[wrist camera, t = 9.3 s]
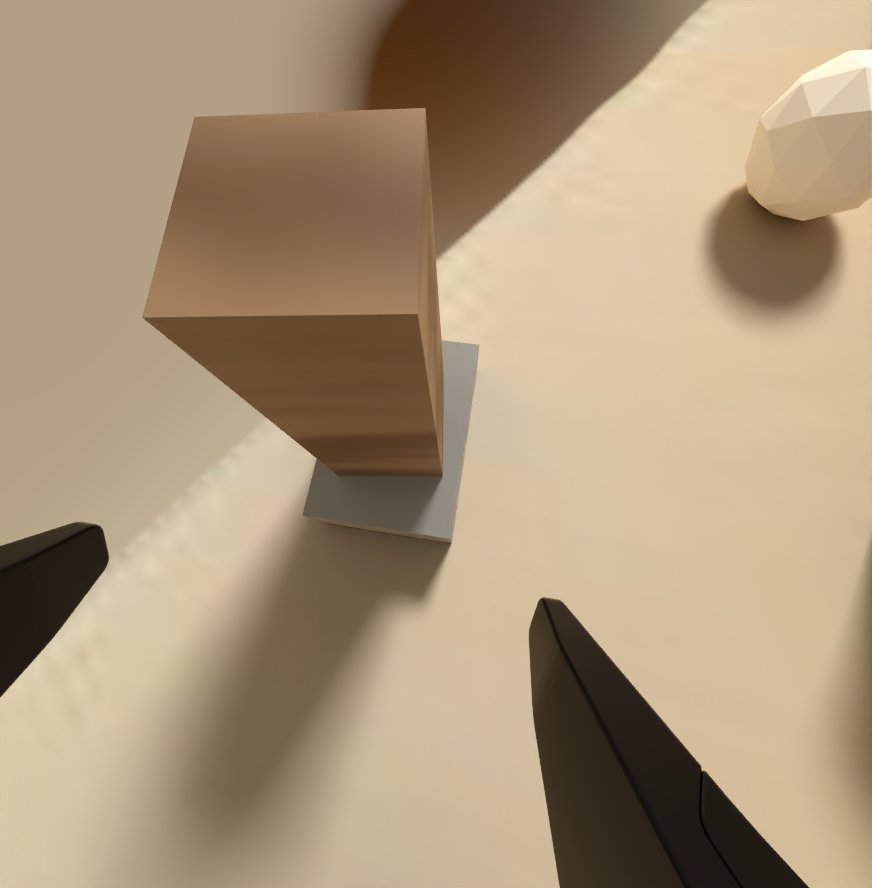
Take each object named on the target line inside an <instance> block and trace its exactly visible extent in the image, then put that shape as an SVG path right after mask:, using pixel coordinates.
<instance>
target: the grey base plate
mask: <svg viewBox="0 0 872 888" xmlns="http://www.w3.org/2000/svg"><path fill="white" fill-rule="evenodd" d="M441 343H442V357H443V372H444V421H443V477H428V476H338V475H337V474H336V473H334V472H333V471H332V470H331V469H330V468H328V467H327V466H326V465H325V464H323V463H322V462H321V461H320V460H318V459H317V460H316V464H315V468H314V472H313V476H312V480H311V484H310V488H309V492H308V496H307V500H306V504H305V508H304V512H303V515H304V516H306V517H309V518H312V519H315V520H317V521H320V522H323V523H329V524H335V525H342V526H348V527H354V528H360V529H366V530H373V531H379V532H385V533H391V534H397V535H403V536H410V537H416V538H422V539H428V540H434V541H441V542H447V543H452V536H453V529H454V523H455V516H456V509H457V502H458V495H459V488H460V482H461V475H462V468H463V461H464V454H465V447H466V440H467V434H468V427H469V420H470V413H471V406H472V399H473V393H474V386H475V379H476V372H477V362H478V352H479V345H476V344H467V343H459V342H450V341H441Z"/></svg>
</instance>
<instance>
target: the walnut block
mask: <svg viewBox="0 0 872 888" xmlns="http://www.w3.org/2000/svg"><path fill="white" fill-rule="evenodd" d="M143 318H144V319H145V320H146V321H147V322H149V323H150V324H151V325H152V326H154V327H155V328H156V329H157V330H159V331H160V332H161V333H162V334H164V335H165V336H166V337H167V338H168V339H170V340H171V341H172V342H173V343H175V344H176V345H177V346H179V347H180V348H181V349H182V350H184V351H185V352H186V353H187V354H189V355H190V356H191V357H192V358H193V359H194V360H196V361H197V362H198V363H199V364H201V365H202V366H203V367H205V368H206V369H207V370H208V371H209V372H211V373H212V374H213V375H214V376H216V377H217V378H218V379H219V380H221V381H222V382H223V383H224V384H225V385H227V386H228V387H229V388H230V389H232V390H233V391H234V392H235V393H237V394H238V395H239V396H240V397H242V398H243V399H244V400H245V401H247V402H248V403H249V404H250V405H251V406H253V407H254V408H255V409H257V410H258V411H259V412H260V413H261V414H263V415H264V416H265V417H266V418H268V419H269V420H270V421H271V422H273V423H274V424H275V425H276V426H277V427H279V428H280V429H281V430H282V431H284V432H285V433H286V434H287V435H289V436H290V437H291V438H292V439H294V440H295V441H296V442H297V443H299V444H300V445H301V446H302V447H303V448H305V449H306V450H307V451H308V452H310V453H311V454H312V455H313V456H315V457H316V458H317V459H318V460H320V461H321V462H322V463H323V464H325V465H326V466H327V467H328V468H330V469H331V470H332V471H333V472H334V473H336V474H337V475H338V476H428V477H443V421H444V372H443V357H442V343H441V328H440V314H439V299H438V285H437V270H436V256H435V243H434V227H433V212H432V198H431V185H430V170H429V155H428V141H427V127H426V111H425V108H416V109H392V110H391V109H390V110H366V111H365V110H363V111H339V112H314V113H313V112H312V113H288V114H263V115H262V114H261V115H235V116H212V117H211V116H209V117H195V118H194V122H193V125H192V130H191V133H190V137H189V141H188V145H187V149H186V152H185V156H184V160H183V164H182V168H181V172H180V176H179V179H178V183H177V187H176V191H175V195H174V198H173V202H172V206H171V210H170V214H169V217H168V221H167V225H166V229H165V233H164V237H163V241H162V244H161V248H160V252H159V256H158V260H157V264H156V267H155V271H154V275H153V279H152V283H151V287H150V290H149V294H148V298H147V302H146V306H145V310H144V313H143Z"/></svg>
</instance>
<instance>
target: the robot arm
mask: <svg viewBox="0 0 872 888" xmlns="http://www.w3.org/2000/svg"><path fill="white" fill-rule="evenodd" d="M108 561H109V555H108V550H107V546H106V541H105V536H104V532H103V529H102V528H101V527H100V526H99V525H96V524H91V523H84V522H75V523H71V524H68V525H65V526H62V527H59V528H56V529H52V530H49V531H46V532H43V533H40V534H37V535H34V536H30V537H27V538H24V539H21V540H18V541H15V542H12V543H9V544H5V545H2V546H0V697H1V696H2V695H3V694H4V693H5V692H6V691H7V689H8V688H9V687H10V686H11V685H12V684H13V683H14V682H15V680H16V679H17V678H18V677H19V676H20V675H21V674H22V673H23V672H24V670H25V669H26V668H27V667H28V666H29V665H30V664H31V663H32V661H33V660H34V659H35V658H36V657H37V656H38V655H39V654H40V652H41V651H42V650H43V649H44V648H45V647H46V646H47V644H48V643H49V642H50V641H51V640H52V639H53V637H54V636H55V635H56V633H57V632H58V631H59V630H60V628H61V627H62V626H63V625H64V623H65V622H66V621H67V619H68V618H69V617H70V615H71V614H72V613H73V611H74V610H75V609H76V607H77V606H78V605H79V603H80V602H81V601H82V599H83V598H84V597H85V595H86V594H87V593H88V591H89V590H90V589H91V587H92V586H93V585H94V583H95V582H96V581H97V579H98V578H99V577H100V575H101V574H102V573H103V571H104V570H105V568H106V566H107V564H108ZM529 650H530V669H531V688H532V706H533V718H534V726H535V733H536V739H537V745H538V752H539V758H540V765H541V771H542V777H543V784H544V790H545V796H546V803H547V809H548V815H549V822H550V828H551V835H552V841H553V847H554V854H555V860H556V866H557V873H558V879H559V886H560V888H809V887H808V886H807V885H806V884H805V883H804V882H803V881H802V879H801V878H800V877H799V876H798V875H797V874H796V873H795V872H794V871H793V870H792V869H791V868H790V866H789V865H788V864H787V863H786V862H785V861H784V860H783V859H782V858H781V857H780V856H779V855H778V853H777V852H776V851H775V850H774V849H773V848H772V847H771V846H770V845H769V844H768V843H767V842H766V840H765V839H764V838H763V837H762V836H761V835H760V834H759V833H758V832H757V830H756V829H755V828H754V827H753V826H752V825H751V824H750V822H749V821H748V820H747V819H746V818H745V817H744V815H743V814H742V813H741V812H740V811H739V810H738V809H737V807H736V806H735V805H734V804H733V803H732V802H731V801H730V799H729V798H728V797H727V796H726V795H725V794H724V792H723V791H722V790H721V789H720V788H719V786H718V785H717V784H716V783H715V782H714V781H713V779H712V778H711V777H710V776H709V775H708V773H707V772H705V771H701V770H702V769H701V766H700V764H699V763H698V762H697V761H696V759H695V758H694V757H693V756H692V755H691V754H690V752H689V751H688V750H687V749H686V748H685V746H684V745H683V744H682V743H681V742H680V740H679V739H678V738H677V737H676V736H675V735H674V733H673V732H672V731H671V730H670V729H669V727H668V726H667V725H666V724H665V723H664V722H663V720H662V719H661V718H660V717H659V716H658V714H657V713H656V712H655V711H654V710H653V708H652V707H651V706H650V705H649V704H648V703H647V701H646V700H645V699H644V698H643V697H642V695H641V694H640V693H639V692H638V691H637V690H636V688H635V687H634V686H633V685H632V684H631V682H630V681H629V680H628V679H627V678H626V676H625V675H624V674H623V673H622V672H621V671H620V669H619V668H618V667H617V666H616V665H615V663H614V662H613V661H612V660H611V659H610V658H609V656H608V655H607V654H606V653H605V652H604V650H603V649H602V648H601V647H600V646H599V644H598V643H597V642H596V641H595V640H594V639H593V637H592V636H591V635H590V634H589V633H588V631H587V630H586V629H585V628H584V627H583V625H582V624H581V623H580V622H579V621H578V620H577V618H576V617H575V616H574V615H573V614H572V612H571V611H570V610H569V609H568V608H567V607H566V605H565V604H564V603H563V602H562V601H560V600H557V599H551V598H545V597H543V598H541V599H540V600H539V602H538V604H537V607H536V610H535V613H534V616H533V619H532V622H531V625H530V629H529Z"/></svg>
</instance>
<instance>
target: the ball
mask: <svg viewBox="0 0 872 888" xmlns="http://www.w3.org/2000/svg"><path fill="white" fill-rule="evenodd" d="M745 171H746V179H747V187H748V193H749V194H750V195H751V196H752V197H753V198H754V199H755V200H756V201H757V202H758V203H759V204H760V205H761V206H763V207H764V208H766V209H767V210H769V211H770V212H771V213H773V214H775V215H779V216H783V217H788V218H792V219H796V220H800V221H805V220H809V219H814V218H818V217H822V216H826V215H830V214H834V213H839V212H843V211H847V210H851V209H855V208H858V207H859V206H860V205H862V204H863V203H864V202H865V201H867V200H868V199H869V198H871V197H872V50H856V51H847V52H845V53H844V54H842V55H840V56H838V57H836V58H834V59H832V60H830V61H828V62H827V63H825V64H823V65H821V66H819V67H817V68H815V69H813V70H811V71H810V72H808V73H806V74H804V75H802V76H801V77H800V78H799V79H798V80H797V81H796V82H795V83H794V84H793V85H792V86H791V87H790V88H789V89H788V90H787V92H786V93H785V94H784V95H783V96H782V97H781V98H780V99H779V100H778V101H777V102H776V103H775V104H774V105H773V106H772V107H771V108H770V109H769V110H768V111H767V112H766V113H765V114H764V115H763V116H762V117H761V118H760V119H759V122H758V126H757V129H756V132H755V136H754V139H753V142H752V146H751V149H750V152H749V156H748V159H747V162H746V166H745Z"/></svg>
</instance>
